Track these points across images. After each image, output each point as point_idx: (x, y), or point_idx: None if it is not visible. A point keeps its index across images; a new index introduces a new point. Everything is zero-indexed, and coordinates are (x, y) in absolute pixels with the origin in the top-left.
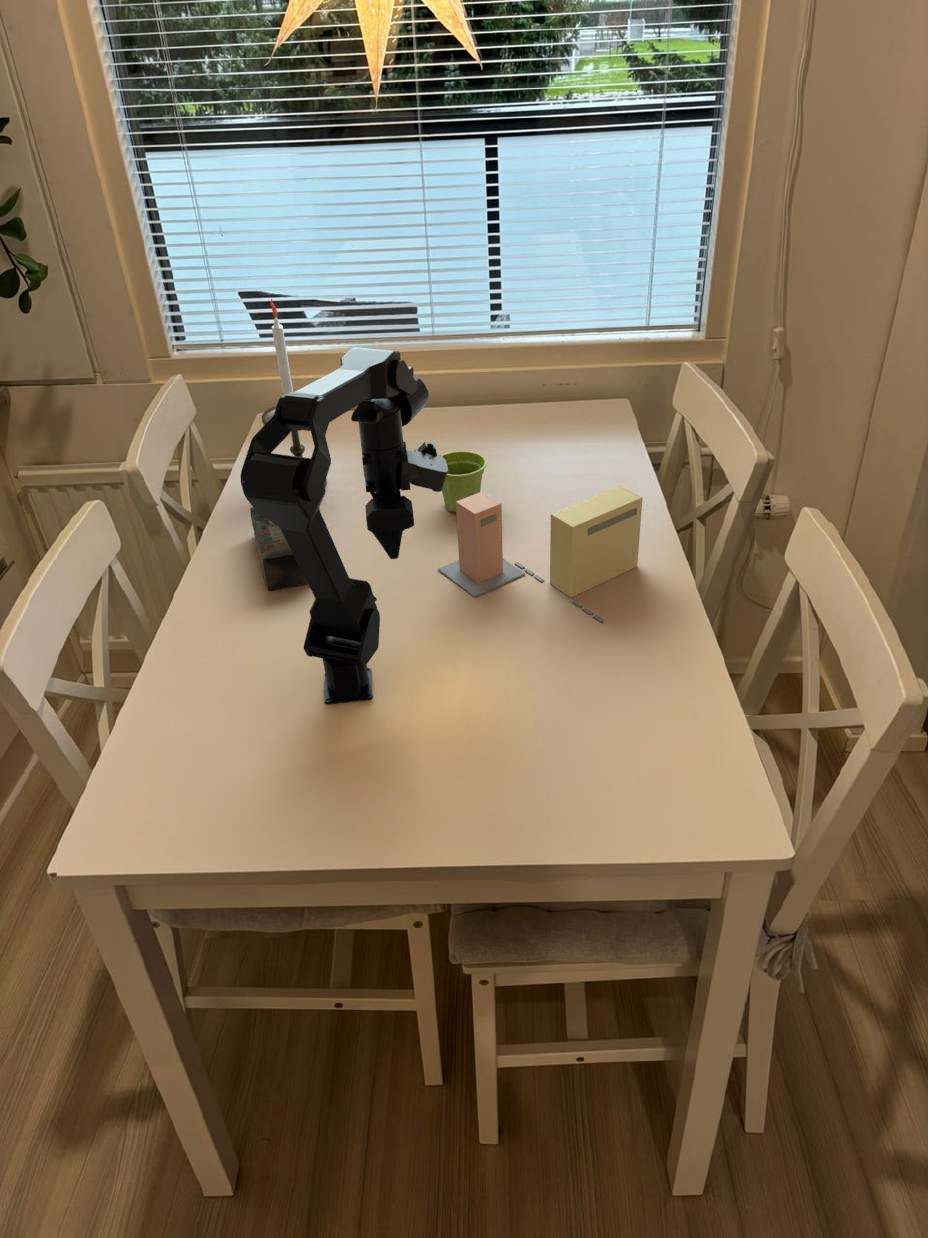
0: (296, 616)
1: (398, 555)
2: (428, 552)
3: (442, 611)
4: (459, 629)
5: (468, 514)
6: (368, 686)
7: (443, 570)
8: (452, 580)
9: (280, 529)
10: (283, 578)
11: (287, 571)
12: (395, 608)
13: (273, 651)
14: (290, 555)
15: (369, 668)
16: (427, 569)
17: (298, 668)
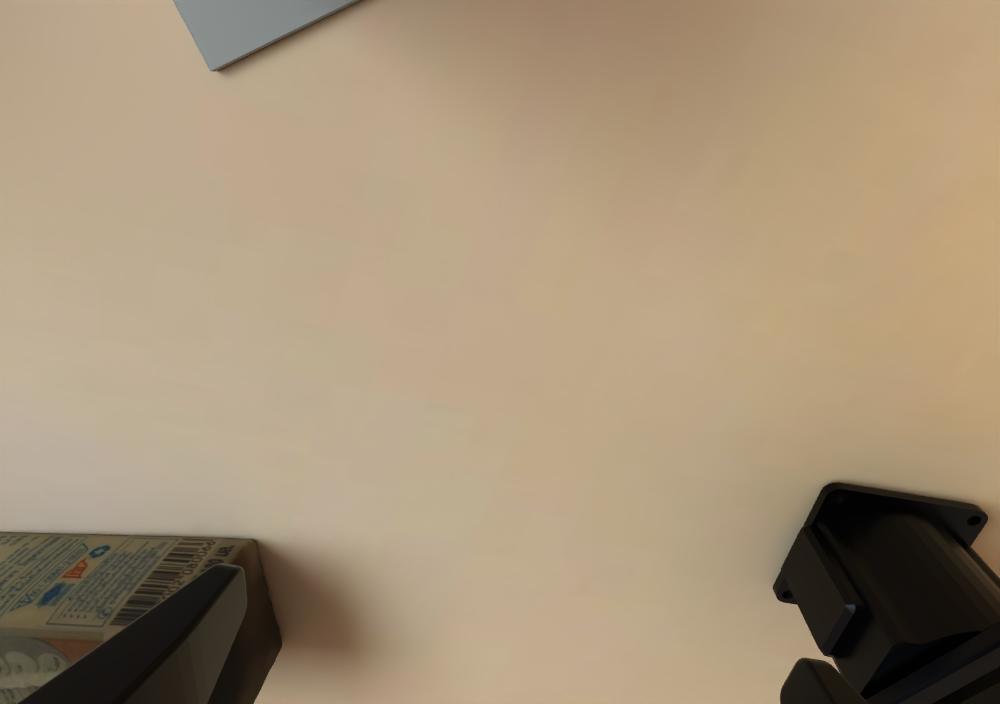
0: (432, 603)
1: (854, 689)
2: (46, 81)
3: (571, 139)
4: (747, 93)
5: None
6: (929, 514)
7: (230, 45)
8: (325, 16)
9: (5, 689)
10: (261, 644)
11: (246, 655)
12: (481, 328)
13: (585, 670)
14: None
15: (834, 493)
16: (203, 125)
17: (694, 636)
